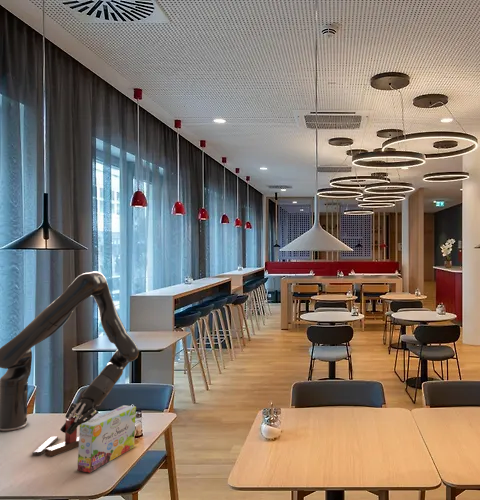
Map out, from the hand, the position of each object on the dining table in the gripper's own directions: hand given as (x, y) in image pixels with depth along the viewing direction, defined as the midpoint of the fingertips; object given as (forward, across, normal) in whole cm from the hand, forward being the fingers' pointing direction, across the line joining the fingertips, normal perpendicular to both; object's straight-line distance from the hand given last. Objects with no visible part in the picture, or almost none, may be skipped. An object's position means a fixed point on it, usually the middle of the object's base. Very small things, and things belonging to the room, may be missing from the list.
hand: (65, 432), depth 165 cm
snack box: (+2, +20, +6) cm, 21 cm away
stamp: (+3, 0, +6) cm, 6 cm away
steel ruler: (+6, -7, +2) cm, 10 cm away
